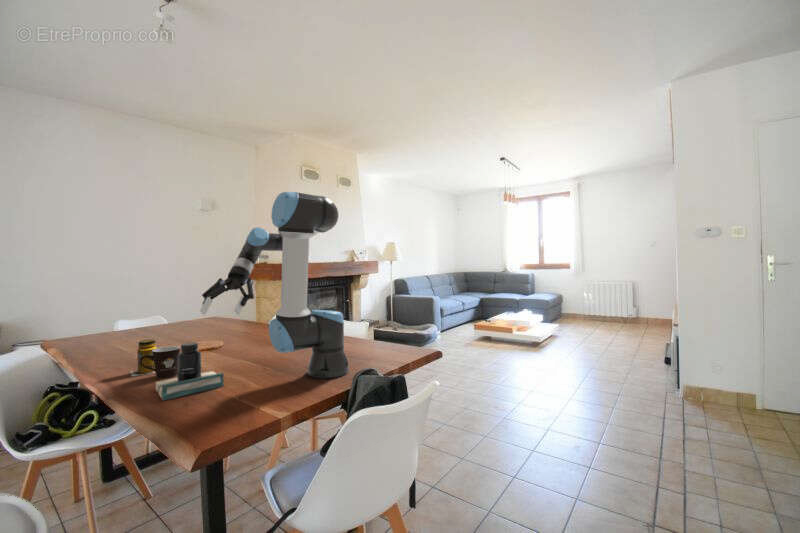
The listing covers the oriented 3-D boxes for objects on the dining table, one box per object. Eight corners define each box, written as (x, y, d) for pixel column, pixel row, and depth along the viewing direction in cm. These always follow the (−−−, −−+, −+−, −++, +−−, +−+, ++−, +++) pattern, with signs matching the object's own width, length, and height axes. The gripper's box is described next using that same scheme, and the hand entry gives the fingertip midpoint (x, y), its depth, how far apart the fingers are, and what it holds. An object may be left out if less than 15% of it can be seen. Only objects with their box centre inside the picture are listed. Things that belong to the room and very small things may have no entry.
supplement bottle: (184, 384, 111) (183, 347, 111) (173, 381, 114) (172, 345, 114) (205, 378, 117) (205, 343, 117) (194, 375, 120) (194, 340, 120)
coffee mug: (183, 371, 134) (183, 345, 134) (177, 378, 126) (176, 350, 126) (148, 374, 130) (147, 348, 130) (138, 381, 122) (138, 353, 122)
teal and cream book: (223, 386, 116) (223, 373, 116) (163, 400, 104) (162, 386, 104) (212, 377, 126) (212, 365, 126) (155, 389, 114) (155, 376, 114)
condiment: (159, 371, 134) (159, 340, 133) (132, 377, 128) (131, 344, 128) (156, 367, 139) (155, 338, 139) (129, 372, 133) (128, 341, 133)
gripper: (272, 276, 146) (255, 318, 131) (216, 278, 149) (193, 318, 134) (266, 264, 141) (247, 305, 126) (208, 265, 143) (183, 306, 128)
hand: (219, 312), depth 130 cm, fingers open, 13 cm apart
